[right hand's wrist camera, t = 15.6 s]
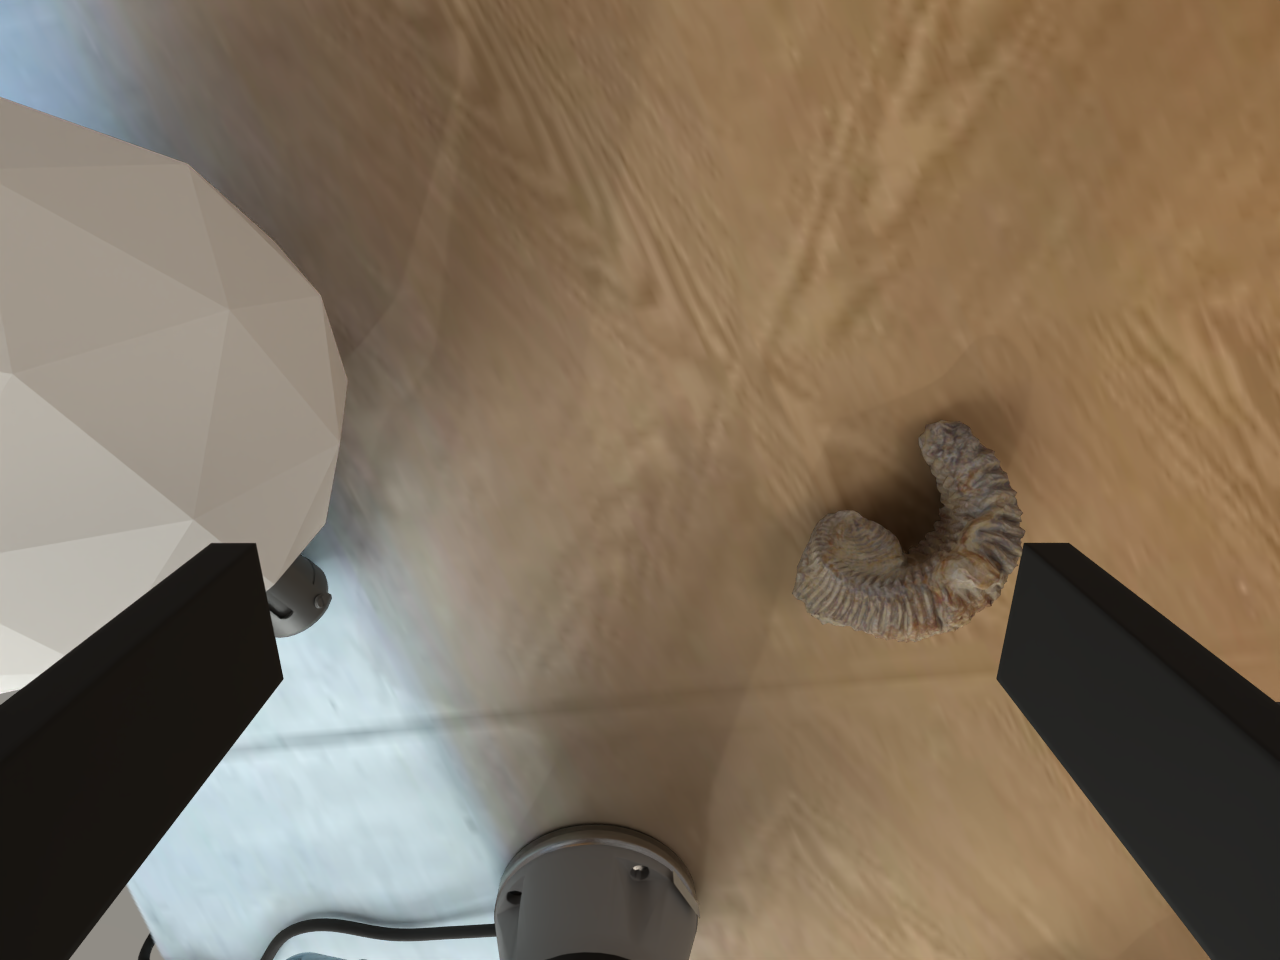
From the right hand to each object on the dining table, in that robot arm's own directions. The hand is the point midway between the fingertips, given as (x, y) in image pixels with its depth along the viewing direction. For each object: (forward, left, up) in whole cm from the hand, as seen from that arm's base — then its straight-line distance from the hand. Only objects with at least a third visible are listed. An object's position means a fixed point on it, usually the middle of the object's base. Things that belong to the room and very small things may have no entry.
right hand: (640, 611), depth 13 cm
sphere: (-24, +3, -30) cm, 39 cm away
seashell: (+12, -15, -30) cm, 36 cm away
